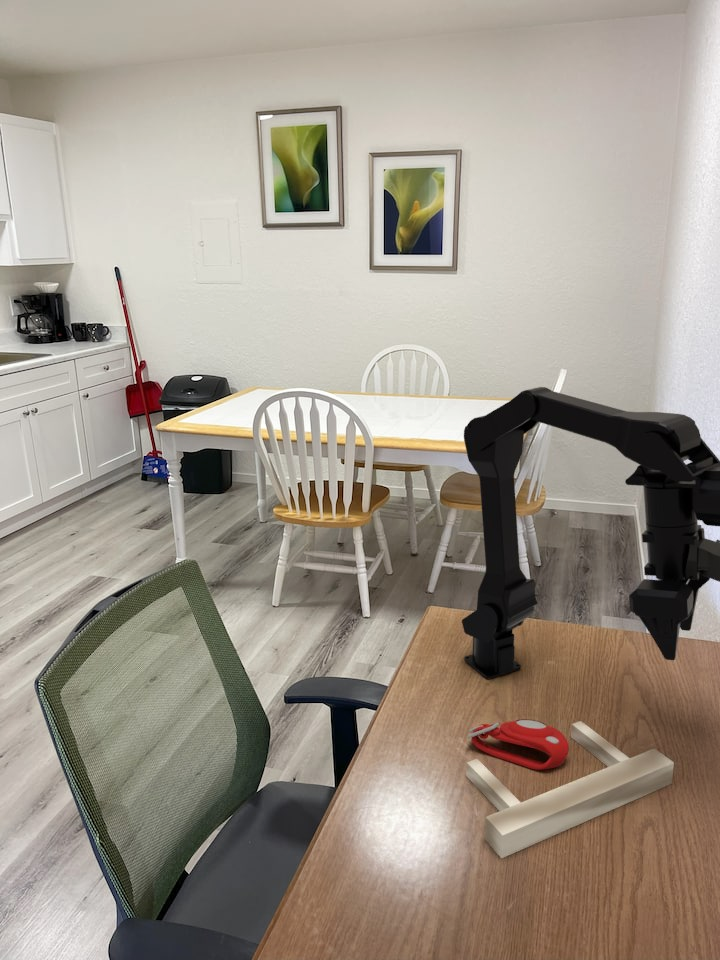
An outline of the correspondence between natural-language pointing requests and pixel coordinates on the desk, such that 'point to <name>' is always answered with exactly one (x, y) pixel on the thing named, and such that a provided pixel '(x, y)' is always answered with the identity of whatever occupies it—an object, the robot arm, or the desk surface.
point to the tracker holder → (524, 741)
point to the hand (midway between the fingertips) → (678, 644)
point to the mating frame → (569, 794)
